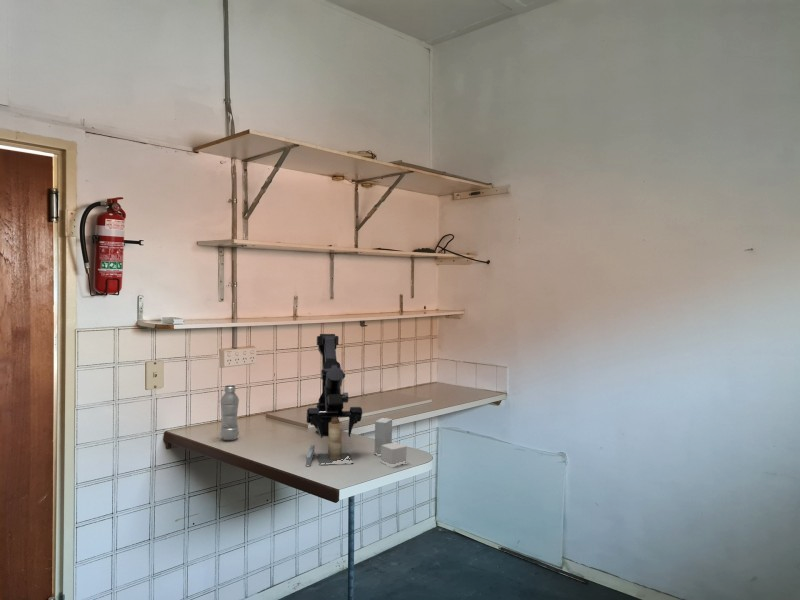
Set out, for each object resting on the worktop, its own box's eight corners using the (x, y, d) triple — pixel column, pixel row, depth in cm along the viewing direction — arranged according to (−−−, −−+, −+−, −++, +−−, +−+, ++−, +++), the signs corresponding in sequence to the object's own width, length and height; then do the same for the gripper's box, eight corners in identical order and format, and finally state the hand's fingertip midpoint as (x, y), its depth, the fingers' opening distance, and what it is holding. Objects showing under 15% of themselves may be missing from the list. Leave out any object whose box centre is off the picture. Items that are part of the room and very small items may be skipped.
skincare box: (380, 450, 207) (381, 417, 207) (391, 452, 206) (392, 418, 205) (373, 455, 202) (374, 421, 201) (385, 457, 200) (386, 422, 200)
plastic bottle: (240, 440, 215) (241, 387, 214) (222, 443, 212) (222, 388, 211) (236, 436, 221) (237, 384, 220) (218, 438, 217) (218, 385, 217)
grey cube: (391, 467, 189) (392, 449, 189) (380, 463, 194) (381, 445, 194) (406, 464, 193) (406, 446, 193) (394, 459, 198) (395, 442, 198)
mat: (317, 455, 200) (317, 454, 200) (349, 453, 203) (349, 452, 202) (319, 465, 189) (319, 464, 189) (353, 464, 192) (353, 462, 192)
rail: (310, 453, 202) (311, 444, 202) (314, 453, 202) (314, 444, 202) (306, 466, 188) (306, 457, 188) (309, 466, 188) (309, 457, 188)
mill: (331, 455, 199) (332, 415, 198) (343, 457, 197) (343, 416, 197) (326, 459, 195) (326, 417, 194) (338, 460, 193) (338, 419, 193)
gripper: (307, 384, 197) (308, 425, 187) (362, 383, 201) (366, 423, 191) (305, 402, 205) (307, 442, 195) (358, 401, 209) (362, 440, 199)
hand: (335, 436), depth 195 cm, fingers open, 9 cm apart
